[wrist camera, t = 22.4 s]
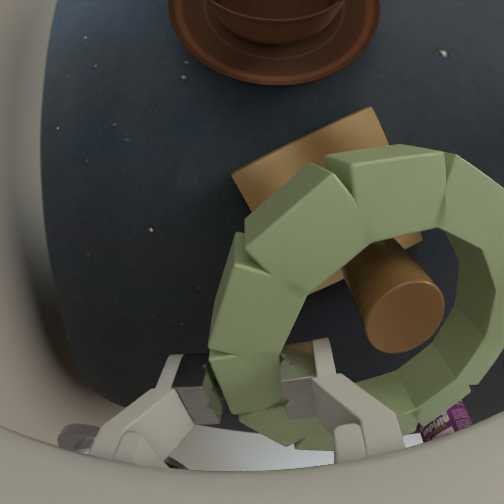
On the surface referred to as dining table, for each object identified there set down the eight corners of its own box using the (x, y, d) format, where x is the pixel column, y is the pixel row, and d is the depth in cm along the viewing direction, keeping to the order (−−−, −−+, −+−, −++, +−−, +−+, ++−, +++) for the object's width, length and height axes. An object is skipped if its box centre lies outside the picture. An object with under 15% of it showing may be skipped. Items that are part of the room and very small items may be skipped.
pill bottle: (428, 384, 25) (459, 460, 16) (463, 383, 25) (496, 450, 16) (404, 417, 27) (424, 488, 18) (439, 415, 27) (462, 479, 18)
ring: (256, 428, 13) (258, 470, 11) (175, 187, 9) (152, 207, 7) (468, 366, 13) (489, 396, 10) (492, 136, 8) (537, 144, 6)
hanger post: (298, 287, 21) (314, 446, 10) (233, 171, 19) (167, 253, 7) (414, 232, 19) (523, 347, 8) (364, 107, 16) (497, 96, 5)
